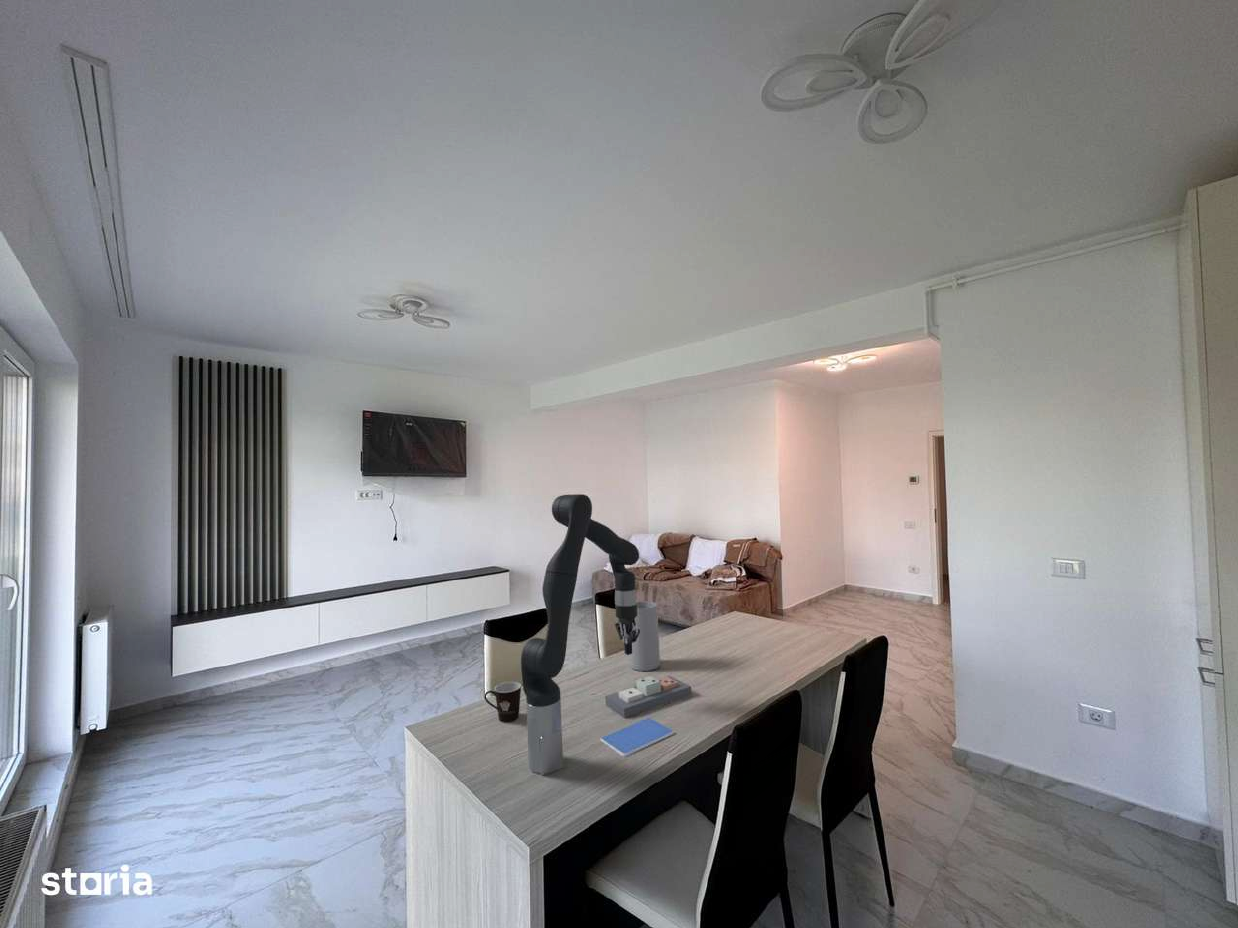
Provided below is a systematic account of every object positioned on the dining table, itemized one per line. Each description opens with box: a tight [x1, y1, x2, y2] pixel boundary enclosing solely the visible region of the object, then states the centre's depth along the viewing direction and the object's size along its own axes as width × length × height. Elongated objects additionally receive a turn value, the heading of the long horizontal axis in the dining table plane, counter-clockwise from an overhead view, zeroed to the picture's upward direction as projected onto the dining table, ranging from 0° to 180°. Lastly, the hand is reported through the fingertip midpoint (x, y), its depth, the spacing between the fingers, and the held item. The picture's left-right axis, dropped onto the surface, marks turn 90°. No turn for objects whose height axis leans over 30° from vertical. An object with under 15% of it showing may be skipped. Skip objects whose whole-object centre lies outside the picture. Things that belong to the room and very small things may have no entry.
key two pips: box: [635, 675, 661, 696], centre depth 168 cm, size 6×6×4 cm
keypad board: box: [604, 675, 692, 719], centre depth 168 cm, size 12×28×3 cm, turn 122°
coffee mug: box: [484, 681, 522, 724], centre depth 160 cm, size 12×9×10 cm
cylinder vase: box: [628, 601, 661, 672], centre depth 200 cm, size 12×12×25 cm
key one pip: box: [618, 687, 643, 703], centre depth 164 cm, size 6×6×4 cm
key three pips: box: [657, 676, 678, 691], centre depth 172 cm, size 6×6×4 cm
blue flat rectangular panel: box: [599, 717, 675, 758], centre depth 144 cm, size 19×13×1 cm, turn 126°
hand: (628, 653), depth 165 cm, fingers closed
